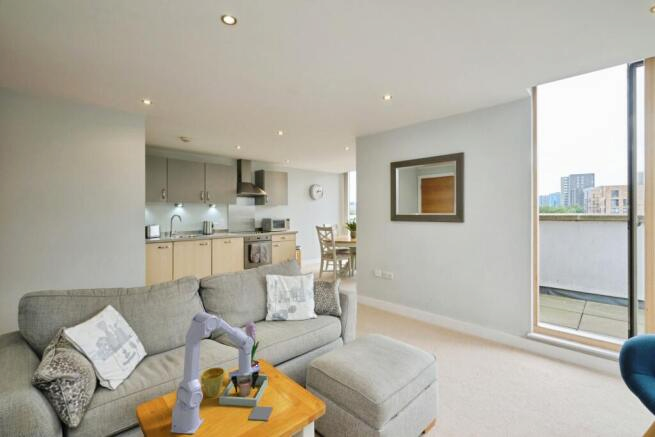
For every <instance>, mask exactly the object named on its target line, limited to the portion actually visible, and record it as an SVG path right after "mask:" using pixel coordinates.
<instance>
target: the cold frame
mask: <svg viewBox="0 0 655 437" xmlns="http://www.w3.org/2000/svg"><path fill="white" fill-rule="evenodd" d="M243 378H250V379H251V384H250V386H252V374H248V376H237V385H238V382H239V380H241V379H243ZM268 381H269V376H268V374H265V373H264V374H262V373H261V374H260V373H259V376H258V378H257V380H256V383H255V386H260V388H259V390H258V392H257V394H256V396H255V397H240V396H239V397H238V396H229V394H230V393H231V392H232V390H233V389H234V388H235V387H234V384H233V382H232V380H231V381H230V382H229V384H228V385H227V387H226V388H225V389H224V391H222V394H221V395H220V396H219V398H218V399H219V400H218V403H219V405H227V406H228V405H229V406H243V407H255V406H259V405H258V404H259V402H260V400H261V399H262V396H264V393H265V391H266V389H267V387H268V383H269V382H268Z"/></svg>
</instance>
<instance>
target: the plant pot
mask: <svg viewBox="0 0 655 437" xmlns="http://www.w3.org/2000/svg"><path fill="white" fill-rule="evenodd" d="M200 376H201V377H200V378H201V380H200V381H201V382H200V383H201V385H203V390H204V395H205V396H206V397H208V398H215V397H217V396H219V395H220V394H221V391H222V386H223V383H224V380H225V379H226V370H225V369H224V368H222V367H216V366H215V367H211V368H208V369H207V368H206V370H204V371H203V372H202V373H201V375H200Z"/></svg>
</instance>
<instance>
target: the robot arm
mask: <svg viewBox="0 0 655 437" xmlns="http://www.w3.org/2000/svg"><path fill="white" fill-rule="evenodd" d="M241 329H242V328H241V327H239V326H237V327H236V326H233V327H232V326H231V325H230V324H228V323H227V322H226V321H225V320H224V319H222V318H221V317H218V316H217V315H214V314H211V313H207V312H206V311H203V310H202V311H198V312H197V313H196V314H194V316H193V317H191V323H190V326H189V328H188V330H187V333H186V334H185V346H184V347H185V348H184V362H183V363H184V364H183V379H182V380H181V381H180V382H179V383H178V389H177V391H176V394H175V397H176V399H177V400H179V403H177V404H176V403H175V404H176V405H175V404H174V407H173V409H172V412H171V430H170V433H178V434H188V435H189V434H190V435H191V434H192V435H194V434H195V433H196V431H197V430H198V429H199V427H200V426H201V425H202V423H203V422H204V421H205V419H204V418H200V404H201V402H202V401H203V397H204V394H203V391H202V384H201V382H200V380H199V372H200V370H199V369H200V358H201V357H200V356H201V355H200V352H201V340H202V339H203V338H205V337H206V336H208V335H210V333H212V332H213V331H215V330H220V331H221V332H223V333H225V334H226V336H227V339H228V340H229V341H231V342H232V343H234V344H235V345H236V347H238V369H236V370H233V371H230V372H228V379H231V381H232V382H233V384H234V387H233V388H234V390H235V393H236V394H237V393H238V384H237V376H248V374H251V373H252V385H251V388H252V390H255V386H256V385H255V383H256V380H257V378H258V376H259V374H260V373H261V372H262V367H261V366H258V367H251V351H252V347H253V344H254V341H253V339H252V337H250V336H247V335H246V334H247V332H246V331H245V332H246V333H245V332H244V331H242V330H241Z"/></svg>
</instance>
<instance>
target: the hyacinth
mask: <svg viewBox="0 0 655 437" xmlns="http://www.w3.org/2000/svg"><path fill="white" fill-rule="evenodd" d="M244 327H245V330H244V331H245V333H247V334H246V335H247V336H250V337H252V339H253V341H254V344H253V347H252V351H251V367H260V366H259V365H260V361H259V360H257V359H254V357H255V354H256V351H257V349H258V347H259V343H260V341H257V342H256V339H257V333H256V332H257V327H256V324H255V323H254V321H252V320H248V321H247V323H246V324H245V326H244ZM251 374H252V373H251Z"/></svg>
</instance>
